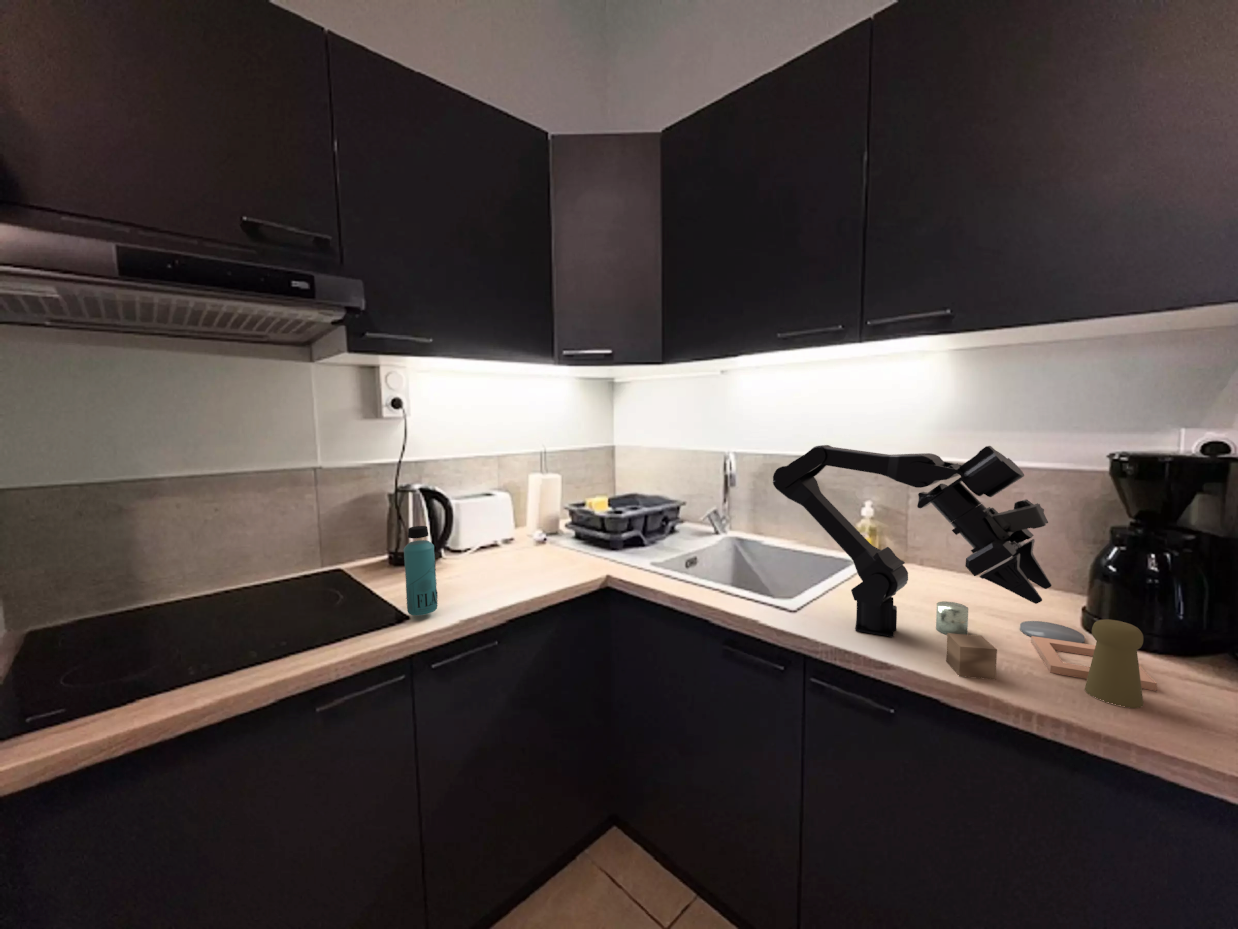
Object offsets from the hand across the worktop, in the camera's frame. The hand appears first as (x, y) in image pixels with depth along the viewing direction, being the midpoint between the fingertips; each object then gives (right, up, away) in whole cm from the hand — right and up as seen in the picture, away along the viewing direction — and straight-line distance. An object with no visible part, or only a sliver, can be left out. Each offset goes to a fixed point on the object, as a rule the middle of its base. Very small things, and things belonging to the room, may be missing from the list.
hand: (1044, 594), depth 76 cm
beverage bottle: (-109, -13, +31) cm, 114 cm away
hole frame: (+10, -12, +4) cm, 17 cm away
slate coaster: (+14, -11, +15) cm, 24 cm away
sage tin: (-3, -12, +17) cm, 21 cm away
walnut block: (-9, -13, +3) cm, 16 cm away
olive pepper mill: (+5, -14, -5) cm, 15 cm away
